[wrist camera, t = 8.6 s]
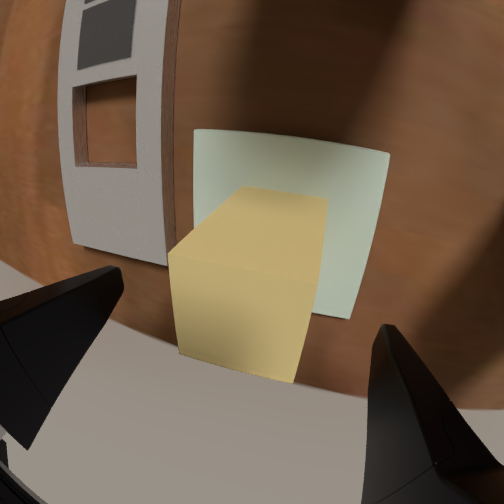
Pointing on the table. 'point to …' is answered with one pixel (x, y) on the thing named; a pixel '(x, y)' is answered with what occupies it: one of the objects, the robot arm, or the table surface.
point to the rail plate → (147, 125)
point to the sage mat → (305, 183)
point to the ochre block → (249, 282)
